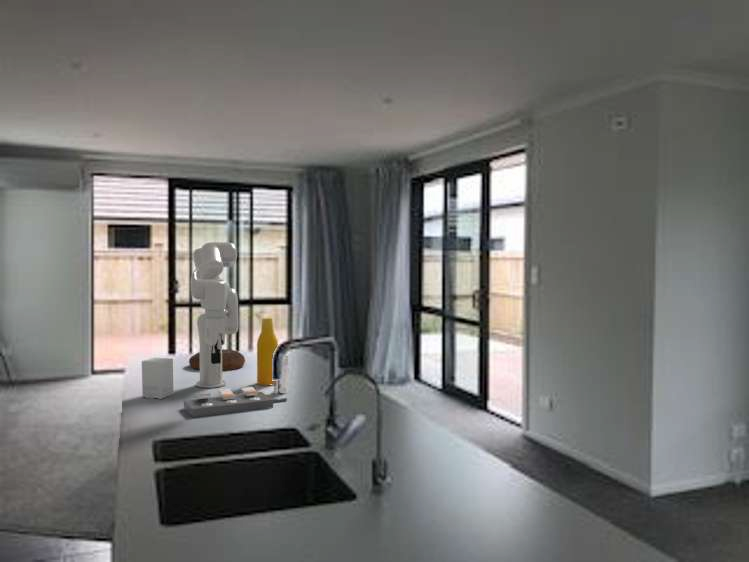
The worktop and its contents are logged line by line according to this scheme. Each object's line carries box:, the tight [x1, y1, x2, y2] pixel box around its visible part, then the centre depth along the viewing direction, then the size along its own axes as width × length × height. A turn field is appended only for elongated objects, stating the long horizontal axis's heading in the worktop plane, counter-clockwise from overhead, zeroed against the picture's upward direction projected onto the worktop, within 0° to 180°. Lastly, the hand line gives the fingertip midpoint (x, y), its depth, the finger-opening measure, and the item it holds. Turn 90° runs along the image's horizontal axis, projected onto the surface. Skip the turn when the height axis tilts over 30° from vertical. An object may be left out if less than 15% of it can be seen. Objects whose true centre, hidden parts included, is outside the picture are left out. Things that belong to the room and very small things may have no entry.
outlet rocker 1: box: [218, 387, 236, 400], centre depth 238 cm, size 7×4×1 cm, turn 29°
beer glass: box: [272, 355, 290, 394], centre depth 261 cm, size 7×7×15 cm
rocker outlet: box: [194, 393, 212, 399], centre depth 234 cm, size 7×4×1 cm, turn 29°
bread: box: [188, 348, 246, 372], centre depth 317 cm, size 28×27×9 cm
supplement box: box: [141, 357, 174, 400], centre depth 253 cm, size 9×9×15 cm
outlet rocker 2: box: [240, 386, 259, 396], centre depth 242 cm, size 7×4×1 cm, turn 29°
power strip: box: [183, 391, 288, 418], centre depth 238 cm, size 14×38×4 cm, turn 119°
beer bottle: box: [256, 317, 279, 386], centre depth 277 cm, size 9×9×29 cm
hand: (215, 363), depth 233 cm, fingers closed
